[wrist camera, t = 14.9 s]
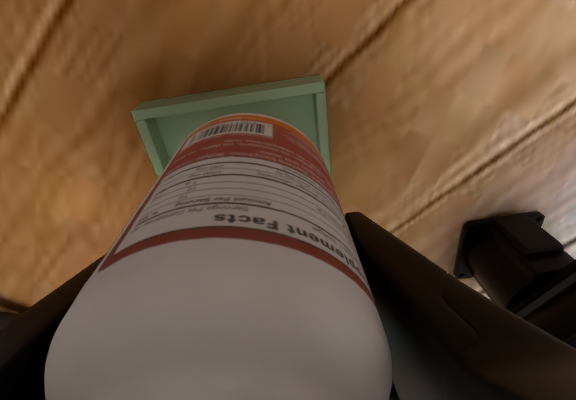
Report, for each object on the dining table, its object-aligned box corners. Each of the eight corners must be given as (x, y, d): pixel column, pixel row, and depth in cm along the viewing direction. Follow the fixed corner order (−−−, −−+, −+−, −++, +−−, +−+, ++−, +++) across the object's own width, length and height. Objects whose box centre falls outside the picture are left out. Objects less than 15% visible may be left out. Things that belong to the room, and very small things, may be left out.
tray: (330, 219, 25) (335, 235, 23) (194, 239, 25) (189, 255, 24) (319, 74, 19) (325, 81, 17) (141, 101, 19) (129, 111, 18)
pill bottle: (260, 264, 15) (238, 706, 5) (144, 190, 13) (-253, 741, 3) (359, 178, 13) (613, 674, 3) (240, 68, 10) (-124, 712, 1)
